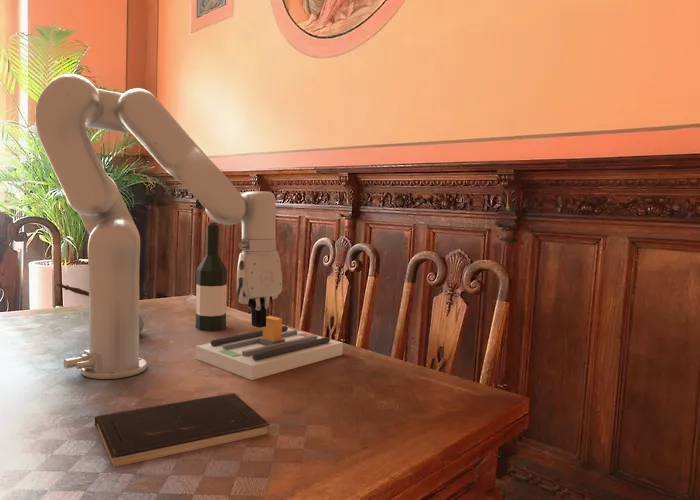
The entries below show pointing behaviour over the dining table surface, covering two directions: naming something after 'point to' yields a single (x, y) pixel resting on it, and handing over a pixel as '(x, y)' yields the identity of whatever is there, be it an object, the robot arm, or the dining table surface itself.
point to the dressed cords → (274, 351)
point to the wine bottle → (211, 285)
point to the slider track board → (241, 352)
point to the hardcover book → (177, 427)
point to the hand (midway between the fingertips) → (258, 326)
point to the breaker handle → (272, 331)
